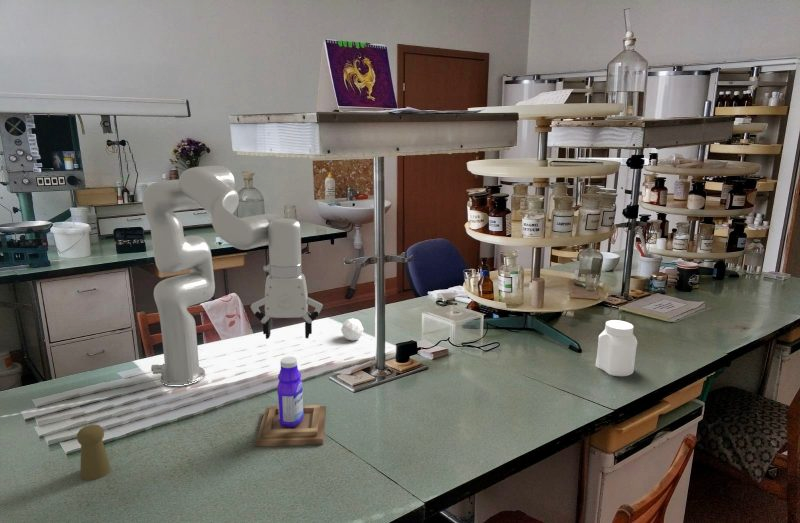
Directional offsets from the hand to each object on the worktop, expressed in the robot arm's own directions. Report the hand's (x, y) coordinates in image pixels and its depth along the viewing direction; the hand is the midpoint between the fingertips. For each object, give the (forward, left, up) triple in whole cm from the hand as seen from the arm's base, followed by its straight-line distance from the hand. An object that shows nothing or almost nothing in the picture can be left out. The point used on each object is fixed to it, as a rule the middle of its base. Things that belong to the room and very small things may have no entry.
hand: (287, 336), depth 141 cm
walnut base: (+1, -2, -25) cm, 24 cm away
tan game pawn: (-41, -18, -25) cm, 51 cm away
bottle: (0, -1, -23) cm, 23 cm away
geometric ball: (+16, +56, -25) cm, 64 cm away
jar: (+100, +28, -25) cm, 107 cm away
